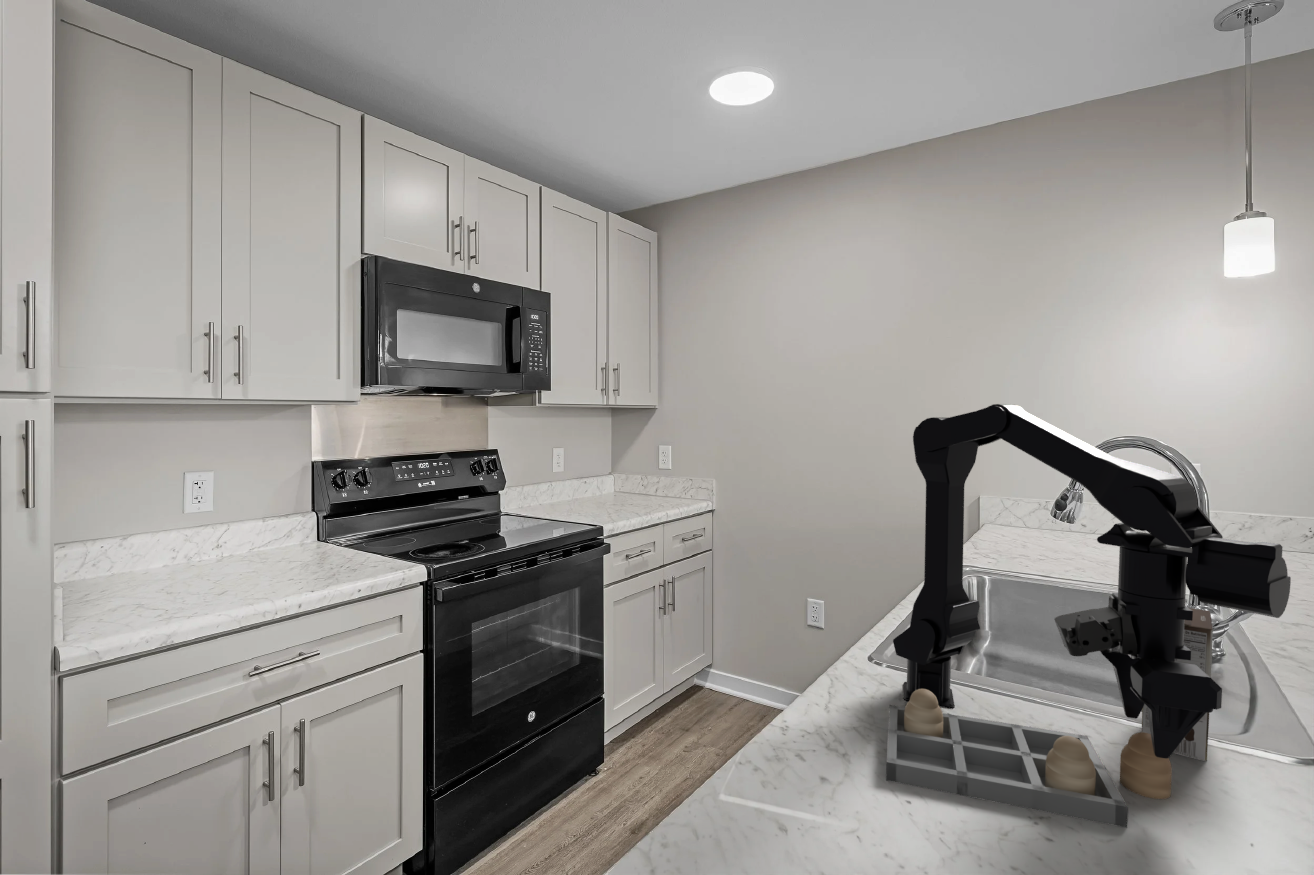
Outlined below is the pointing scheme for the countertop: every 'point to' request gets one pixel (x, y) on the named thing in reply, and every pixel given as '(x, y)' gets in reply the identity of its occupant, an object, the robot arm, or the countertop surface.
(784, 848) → the countertop surface
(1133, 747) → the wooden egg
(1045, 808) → the egg carton
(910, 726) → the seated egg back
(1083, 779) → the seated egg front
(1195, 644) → the coffee box
